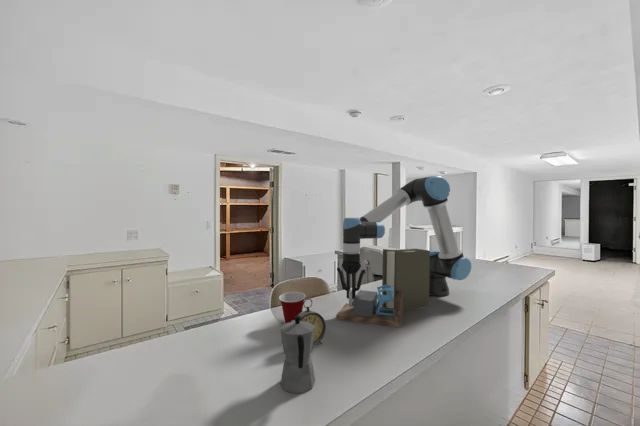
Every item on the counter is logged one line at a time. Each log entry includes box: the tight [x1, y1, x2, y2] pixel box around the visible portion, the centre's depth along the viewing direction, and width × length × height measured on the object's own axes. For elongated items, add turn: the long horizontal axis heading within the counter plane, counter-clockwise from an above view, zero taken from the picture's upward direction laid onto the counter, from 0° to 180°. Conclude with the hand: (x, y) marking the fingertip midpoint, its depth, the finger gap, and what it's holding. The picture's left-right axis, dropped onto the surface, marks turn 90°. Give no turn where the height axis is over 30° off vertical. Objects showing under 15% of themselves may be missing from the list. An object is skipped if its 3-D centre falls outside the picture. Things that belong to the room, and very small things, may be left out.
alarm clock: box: [297, 298, 327, 347], centre depth 101 cm, size 11×5×16 cm, turn 117°
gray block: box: [353, 289, 378, 318], centre depth 129 cm, size 8×14×7 cm, turn 161°
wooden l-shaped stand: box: [335, 291, 404, 328], centre depth 128 cm, size 26×16×10 cm, turn 70°
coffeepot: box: [279, 316, 316, 394], centre depth 78 cm, size 15×9×18 cm, turn 10°
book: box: [381, 248, 431, 313], centre depth 141 cm, size 22×9×28 cm, turn 118°
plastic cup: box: [278, 291, 307, 324], centre depth 119 cm, size 11×11×12 cm
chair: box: [375, 285, 395, 317], centre depth 126 cm, size 8×8×12 cm
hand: (351, 305), depth 131 cm, fingers closed
